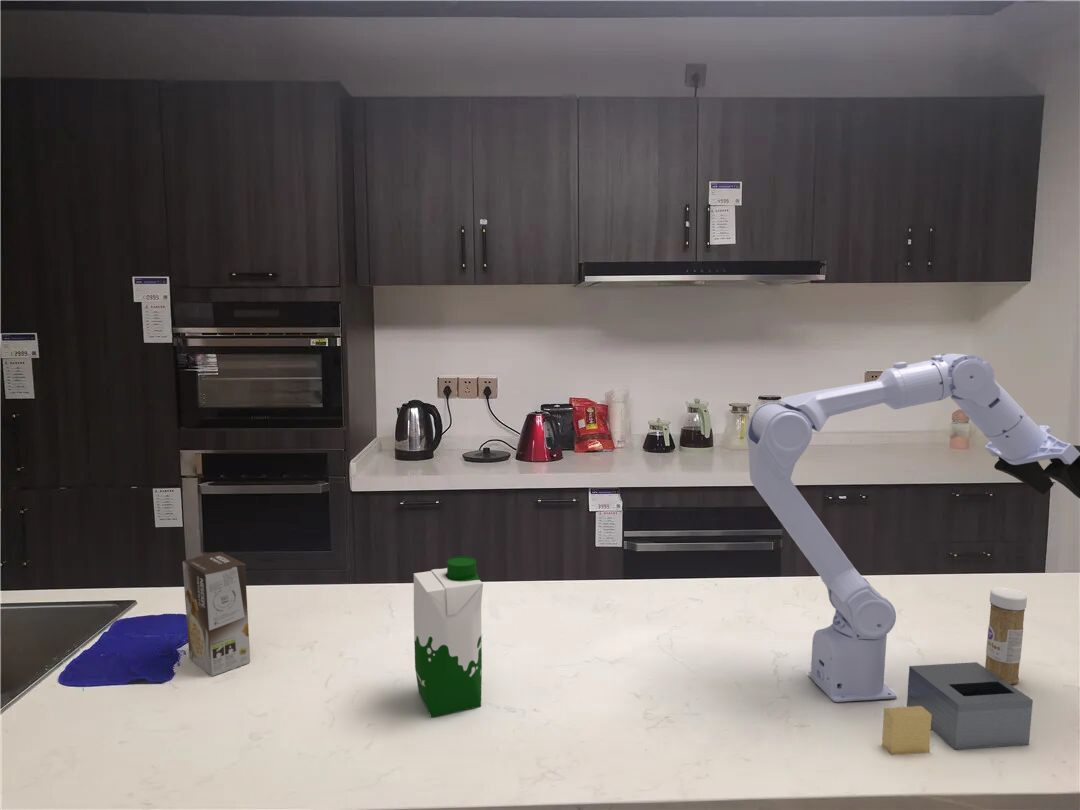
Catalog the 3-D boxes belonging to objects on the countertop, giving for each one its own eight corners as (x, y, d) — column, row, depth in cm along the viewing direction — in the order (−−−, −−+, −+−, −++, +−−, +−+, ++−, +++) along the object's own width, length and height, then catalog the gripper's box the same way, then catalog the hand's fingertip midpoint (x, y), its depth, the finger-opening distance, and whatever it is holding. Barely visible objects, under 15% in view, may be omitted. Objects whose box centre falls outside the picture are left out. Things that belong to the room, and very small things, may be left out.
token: (891, 755, 90) (893, 717, 90) (881, 745, 92) (884, 708, 92) (929, 752, 91) (931, 714, 90) (918, 742, 93) (921, 705, 92)
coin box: (955, 749, 91) (958, 704, 90) (906, 707, 101) (909, 666, 100) (1028, 744, 92) (1032, 699, 91) (973, 702, 102) (976, 662, 101)
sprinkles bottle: (976, 671, 111) (983, 586, 109) (1004, 670, 111) (1011, 585, 110) (998, 686, 106) (1005, 598, 105) (1027, 685, 107) (1035, 597, 105)
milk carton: (489, 708, 101) (488, 568, 98) (425, 723, 97) (422, 578, 95) (470, 679, 109) (468, 549, 106) (410, 691, 105) (406, 557, 103)
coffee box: (252, 662, 114) (247, 563, 112) (211, 677, 109) (205, 574, 107) (226, 644, 120) (221, 550, 118) (186, 658, 115) (180, 560, 113)
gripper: (1064, 402, 93) (1133, 477, 94) (987, 402, 108) (1047, 467, 109) (1027, 440, 93) (1096, 516, 94) (954, 435, 108) (1015, 501, 108)
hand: (1068, 492), depth 101 cm, fingers open, 7 cm apart
